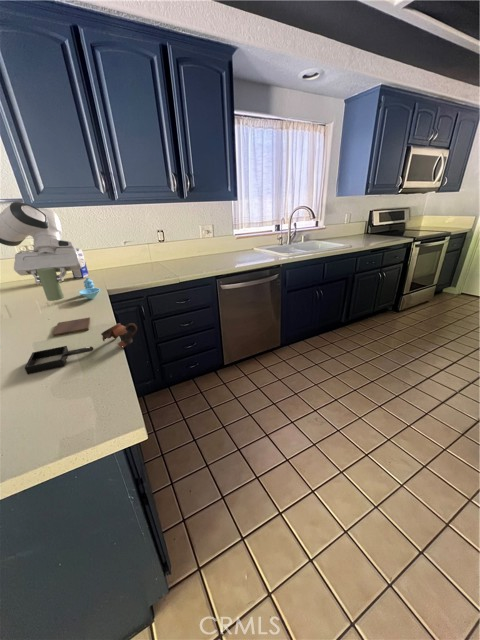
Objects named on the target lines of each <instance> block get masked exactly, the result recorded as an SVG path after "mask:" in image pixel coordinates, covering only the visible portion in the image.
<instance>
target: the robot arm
mask: <svg viewBox="0 0 480 640" xmlns="http://www.w3.org/2000/svg"><path fill="white" fill-rule="evenodd" d="M28 236H30V237H32V239H33V249H31V250H30V249H29V250H20V251H19V252H16V253H15V254H14V261H13V263H14V264H13V271H15V273H17V274H18V275H19V276H21V277H22V276H33V278H34V283H35V284H36V285H42V284H41V281H40V278H39V275H38V272H37V269H39V268H48V267H55V270H56V273H59V274H57V281H58V282H59V283H60V282H64V278H65V277H66V275H67V272H72V271H75V270H80V269H81V268H82V264H81V260H80V257H79V255H78V253H77V250H76V248H77V247H76V246H75V245H74V243H73V242H72V241H69V240H63V239H62V238H63V226H62V223H61V219H60V217H59V216H58V214H57V213H56V212H55V211H53V210H51V209H49V208H43V207H40V208H37V207H35V206H33V205H31V204H29V203H26V202H23V201H13V202H12V203H10V204H9V205H8V206H6V207H5V208H4V209H3V210H2V211H1V212H0V244H1V245H4V246H7V247H17V246H19V245H21V244H22V243H23V241H25V240H26V238H28Z"/></svg>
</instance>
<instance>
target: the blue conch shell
mask: <svg viewBox="0 0 480 640" xmlns="http://www.w3.org/2000/svg"><path fill="white" fill-rule="evenodd" d="M83 284H84V285H83V286H84V288H83V289H81V290H79V291H78V295H81V296H82V297H84V298H86V299H88V300H94V299H95V298H96V297H97V296H98V294H99V293H100V291H101V288H99V287H95V283H94V281H93V279H90V277H86V278H85V280H83Z"/></svg>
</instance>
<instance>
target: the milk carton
mask: <svg viewBox="0 0 480 640" xmlns="http://www.w3.org/2000/svg"><path fill="white" fill-rule="evenodd" d="M75 248H76V250H77V253H78V255H79V257H80V260H81V264H82V268H81V269H80V270H75V271H71V272H72V277H73V279H74V278H84V279H86V278H88V277H89V276H90V274H89V270H88V267H87V262H86V259H85V255H84V251H83V249H80V248H78V247H75ZM87 276H88V277H87ZM85 277H86V278H85Z"/></svg>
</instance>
